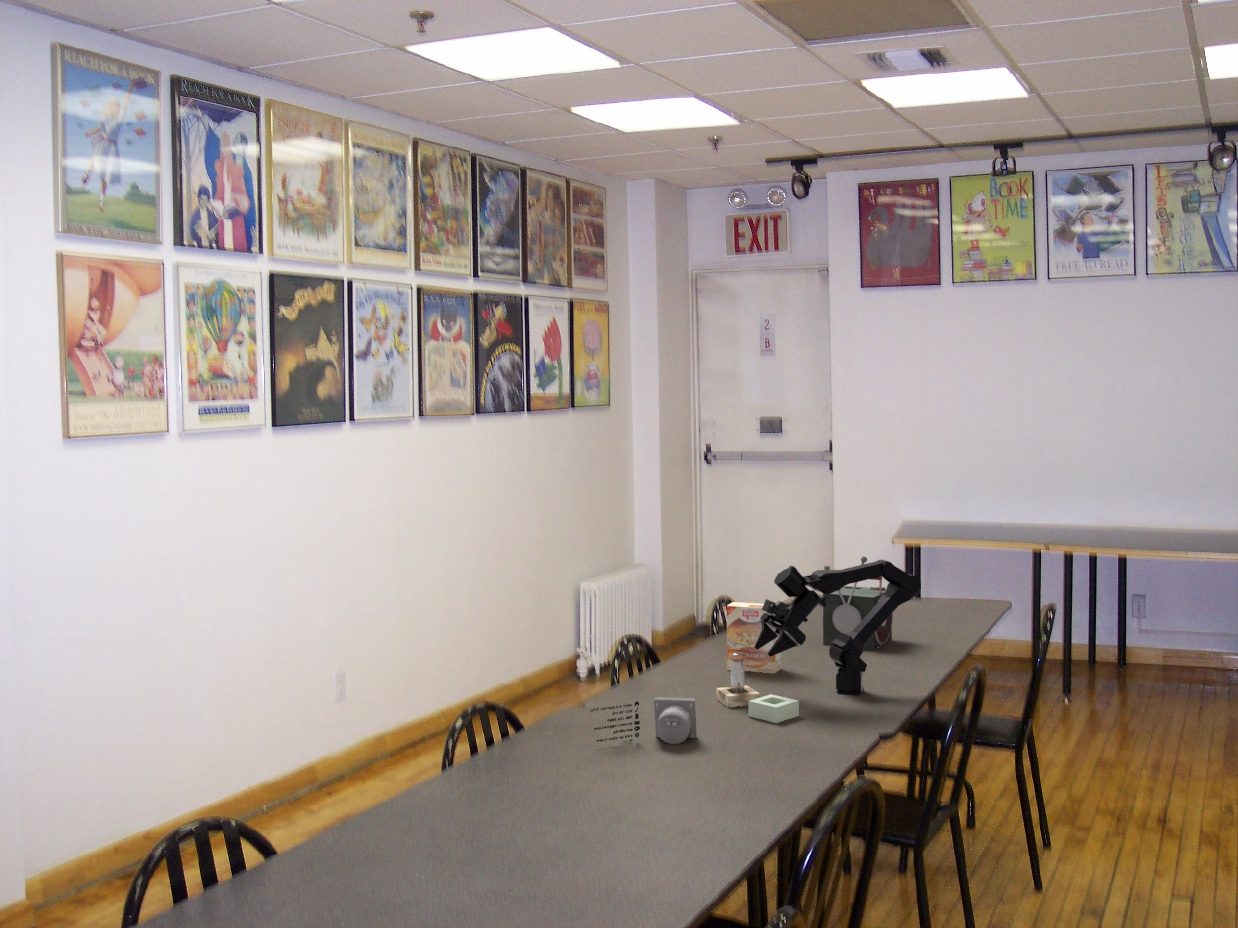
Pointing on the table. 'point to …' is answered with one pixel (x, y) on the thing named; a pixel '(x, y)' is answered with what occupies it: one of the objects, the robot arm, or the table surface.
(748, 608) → the coffeecake box
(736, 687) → the lock pin
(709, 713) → the table surface
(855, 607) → the boombox
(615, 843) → the table surface
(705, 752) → the table surface
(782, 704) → the dock socket
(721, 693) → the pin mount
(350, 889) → the table surface
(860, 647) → the robot arm
